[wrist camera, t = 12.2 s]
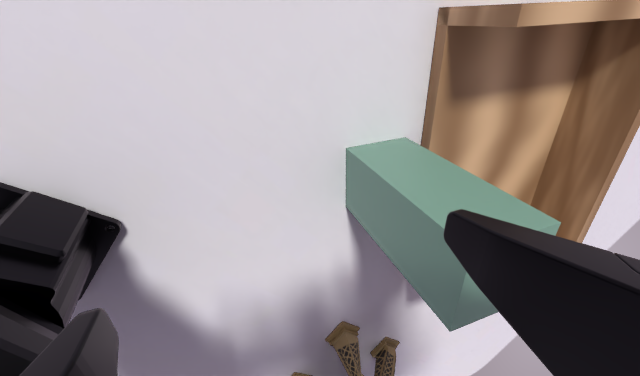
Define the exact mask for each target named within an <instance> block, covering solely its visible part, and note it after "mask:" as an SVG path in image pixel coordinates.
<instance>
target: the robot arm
mask: <svg viewBox="0 0 640 376" xmlns="http://www.w3.org/2000/svg"><path fill="white" fill-rule="evenodd" d="M109 225H111V226H114V227H115V228H114V229H109V228H108V227H107V226H109ZM120 228H121V223H120V222H119V221H118V220H116V219H114V218H111V217H108V216H105V215H101V214H98V213H95V212H92V211H89V210H86V209H85V208H84V207H80V206H77V205H74V204H71V203H68V202H65V201H62V200H58V199H55V198H52V197H49V196H46V195H43V194H40V193H37V192H29V191H26V190H23V189H19V188H16V187H13V186H10V185H7V184H4V183H1V182H0V376H117V363H118V346H119V338H118V333H117V331H116V329H115V327H114V325H113V324H112V322H111V320H110V318H109V317H108V315H107V313H106V312H105V310H104V309H102V308H97V309H93V310H90V311H86V312H82V313H80V314H78V315H77V316H76V317H75V318H74V319H73V320H72V321H71V322H70V323H69V321H70V319H71V316H72V314H73V311H74V309H75V306H76V304H77V301H78V300H80V299H81V297H82V295H83V294H84V292H85V290H86V289H87V287H88V285H89V283H90V282H91V280H92V278H93V277H94V275H95V273H96V271H97V270H98V268H99V266H100V264H101V263H102V261H103V259H104V258H105V256H106V254H107V252H108V251H109V249H110V247H111V245H112V244H113V242H114V240H115V239H116V237H117V235H118V233H119V231H120ZM443 236H444V240H445V242H446V244H447V245H448V246H449V248H450V249H451V251H452V252H453V253H454V255H455V256H456V258H457V259H458V261H459V262H460V263H461V265H462V266H463V268H464V269H465V270H466V272H467V273H468V275H469V276H470V277H471V279H472V280H473V281H474V283H475V284H476V285H477V287H478V288H479V289H480V290H481V291H482V293H483V294H484V295H485V296H486V297H487V298H488V300H489V301H490V302H491V303H492V304H493V305H494V307H495V308H496V309H497V310H498V311H499V313H500V314H501V315H502V316H503V317H504V318H505V320H506V321H507V322H508V323H509V324H510V325H511V327H512V328H513V329H514V330H515V331H516V332H517V334H518V335H519V336H520V337H521V338H522V339H523V340H524V342H525V343H526V344H527V345H528V346H529V348H530V349H531V350H532V351H533V352H534V353H535V355H536V356H537V357H538V358H539V359H540V360H541V362H542V363H543V364H544V365H545V366H546V367H547V369H548V370H549V371H550V372H551V373H552V374H553V376H640V260H638V259H635V258H631V257H627V256H624V255H621V254H617V253H614V254H613V253H612V252H610V251H607V250H603V249H600V248H596V247H593V246H589V245H586V244H582V243H579V242H575V241H572V240H568V239H565V238H561V237H558V236H554V235H551V234H547V233H544V232H540V231H537V230H533V229H530V228H526V227H523V226H520V225H516V224H513V223H509V222H506V221H502V220H499V219H495V218H492V217H488V216H485V215H481V214H478V213H474V212H471V211H467V210H464V209H459V210H455V211H452V212H450V213H449V214H448V215H447V218H446V223H445V228H444V233H443Z"/></svg>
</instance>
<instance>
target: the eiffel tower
mask: <svg viewBox="0 0 640 376" xmlns="http://www.w3.org/2000/svg"><path fill="white" fill-rule="evenodd" d="M359 329H360V328H359V327H357V326H355V325H352V324H349V323H346V322H344V321H342V322H341V323H340V324H339V325H338V326H337V327H336V328H335V329H334V330H333V331H332V333H331V334H330V335H329V336H328V337H327V338H326V339H325V340H326V342H329V344H330V345H331V346H334V348H335V350H336V352H337V354H338V356H339V358H340V360H341V361H342V363H343V365H344V367H345V369H346V371H347V373H348V375H349V376H364V375H363V374H361V366H360V355H359V343H358V338H357V335H358V332H357V331H358V330H359ZM399 343H400V342H399V341H397V340H394V339H391V338H388V337H385V338H384V339H383V340H382V341H381V342H380V343H379V344H378V345H377V346H376V347H375V348H374V349H373V350H372V351H371V352H370V353H371V355H372V357H374V358H376V364H375V374H374V376H394V372H395V362H396V352H395V349H396V348H397V345H398V344H399ZM291 376H312V375H307V374H301V373H296V372H294V373H293V374H292V375H291Z"/></svg>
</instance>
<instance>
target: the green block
mask: <svg viewBox="0 0 640 376" xmlns="http://www.w3.org/2000/svg"><path fill="white" fill-rule="evenodd" d="M346 207H347V208H348V210H349V211H350V212H351V213H352V214H353V216H354V217H355V218H356V219H357V220H358V222H359V223H360V224H361V225H362V226H363V228H364V229H365V230H366V231H367V232H368V234H369V235H370V236H371V237H372V238H373V240H374V241H375V242H376V243H377V244H378V246H379V247H380V248H381V249H382V250H383V252H384V253H385V254H386V255H387V256H388V258H389V259H390V260H391V261H392V262H393V264H394V265H395V266H396V267H397V268H398V270H399V271H400V272H401V273H402V274H403V276H404V277H405V278H406V279H407V280H408V282H409V283H410V284H411V285H412V287H413V288H414V289H415V290H416V291H417V293H418V294H419V295H420V296H421V297H422V299H423V300H424V301H425V302H426V303H427V305H428V306H429V307H430V308H431V309H432V311H433V312H434V313H435V314H436V315H437V317H438V318H439V319H440V320H441V321H442V323H443V324H444V325H445V326H446V327H447V329H448V330H449V331H450V332H451V331H453V330H456V329H458V328H461V327H463V326H465V325H468V324H470V323H473V322H475V321H478V320H480V319H482V318H485V317H487V316H490V315H492V314H495V313H497V312H499V311H498V310H497V309H496V308H495V307H494V305H493V304H492V303H491V302H490V301H489V300H488V298H487V297H486V296H485V295H484V294H483V293H482V291H481V290H480V289H479V288H478V287H477V285H476V284H475V283H474V281H473V280H472V279H471V277H470V276H469V275H468V273H467V272H466V270H465V269H464V268H463V266H462V265H461V263H460V262H459V261H458V259H457V258H456V256H455V255H454V253H453V252H452V251H451V249H450V248H449V246H448V245H447V244H446V242H445V240H444V236H443V233H444V228H445V223H446V218H447V215H448V214H449V213H450V212H452V211H455V210H459V209H464V210H467V211H471V212H474V213H478V214H481V215H485V216H488V217H492V218H495V219H499V220H502V221H506V222H509V223H513V224H516V225H520V226H523V227H526V228H530V229H533V230H537V231H540V232H544V233H547V234H551V235H554V236H556V233H557V231H558V229H559V226H560V224H561V222H559V221H557V220H556V219H554V218H552V217H550V216H548V215H547V214H545V213H543V212H541V211H539V210H537V209H536V208H534V207H532V206H530V205H528V204H526V203H525V202H523V201H521V200H519V199H517V198H515V197H514V196H512V195H510V194H508V193H506V192H504V191H503V190H501V189H499V188H497V187H495V186H494V185H492V184H490V183H488V182H486V181H484V180H483V179H481V178H479V177H477V176H475V175H473V174H472V173H470V172H468V171H466V170H464V169H462V168H461V167H459V166H457V165H455V164H453V163H451V162H450V161H448V160H446V159H444V158H442V157H440V156H439V155H437V154H435V153H433V152H431V151H430V150H428V149H426V148H424V147H422V146H420V145H419V144H417V143H415V142H413V141H411V140H409V139H408V138H406V137H405V138H400V139H394V140H388V141H383V142H377V143H372V144H366V145H361V146H355V147H350V148H346Z"/></svg>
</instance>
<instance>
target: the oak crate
mask: <svg viewBox="0 0 640 376" xmlns="http://www.w3.org/2000/svg"><path fill="white" fill-rule="evenodd" d="M639 126H640V0H597V1H573V2H550V3H527V4H505V5H485V6H464V7H443V8H439V13H438V21H437V28H436V36H435V43H434V51H433V59H432V66H431V74H430V81H429V89H428V96H427V104H426V111H425V119H424V126H423V134H422V142H421V146H422V147H424V148H426V149H428V150H430V151H431V152H433V153H435V154H437V155H439V156H440V157H442V158H444V159H446V160H448V161H450V162H451V163H453V164H455V165H457V166H459V167H461V168H462V169H464V170H466V171H468V172H470V173H472V174H473V175H475V176H477V177H479V178H481V179H483V180H484V181H486V182H488V183H490V184H492V185H494V186H495V187H497V188H499V189H501V190H503V191H504V192H506V193H508V194H510V195H512V196H514V197H515V198H517V199H519V200H521V201H523V202H525V203H526V204H528V205H530V206H532V207H534V208H536V209H537V210H539V211H541V212H543V213H545V214H547V215H548V216H550V217H552V218H554V219H556V220H557V221H559V222H561V224H560V226H559V229H558V231H557V233H556V236H558V237H561V238H565V239H568V240H572V241H575V242H579V243H582V242H583V240H584V238H585V236H586V234H587V232H588V230H589V227H590V225H591V223H592V221H593V219H594V217H595V215H596V213H597V211H598V209H599V207H600V205H601V203H602V201H603V199H604V197H605V195H606V193H607V191H608V189H609V187H610V185H611V183H612V181H613V179H614V177H615V175H616V173H617V171H618V168H619V166H620V164H621V162H622V160H623V158H624V156H625V154H626V152H627V150H628V148H629V146H630V144H631V142H632V140H633V138H634V136H635V134H636V132H637V130H638V128H639Z"/></svg>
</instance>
